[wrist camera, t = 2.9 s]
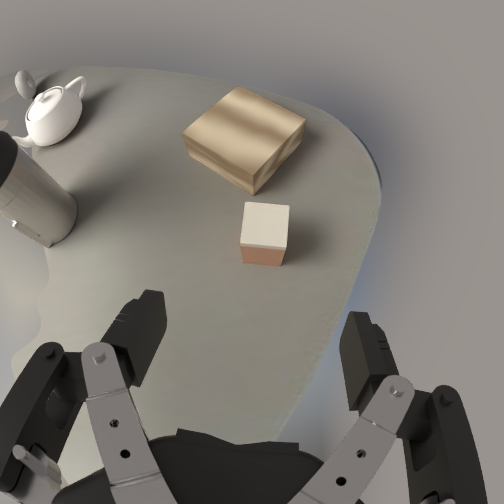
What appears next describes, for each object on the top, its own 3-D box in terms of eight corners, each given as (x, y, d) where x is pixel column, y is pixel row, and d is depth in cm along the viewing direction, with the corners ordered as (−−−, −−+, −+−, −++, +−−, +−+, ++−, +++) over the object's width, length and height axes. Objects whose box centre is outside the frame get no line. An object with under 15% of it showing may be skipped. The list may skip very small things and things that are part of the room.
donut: (30, 90, 55) (15, 69, 46) (38, 84, 56) (24, 62, 46) (27, 107, 52) (11, 85, 43) (37, 100, 53) (20, 77, 43)
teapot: (83, 89, 52) (66, 58, 42) (109, 105, 49) (90, 69, 39) (17, 153, 47) (-7, 128, 37) (34, 180, 45) (4, 152, 34)
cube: (280, 266, 39) (286, 247, 31) (243, 262, 39) (240, 242, 31) (283, 231, 40) (289, 205, 33) (247, 227, 41) (245, 201, 33)
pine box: (253, 197, 42) (253, 175, 37) (189, 156, 45) (181, 133, 39) (301, 143, 45) (306, 119, 40) (239, 110, 48) (238, 86, 42)
